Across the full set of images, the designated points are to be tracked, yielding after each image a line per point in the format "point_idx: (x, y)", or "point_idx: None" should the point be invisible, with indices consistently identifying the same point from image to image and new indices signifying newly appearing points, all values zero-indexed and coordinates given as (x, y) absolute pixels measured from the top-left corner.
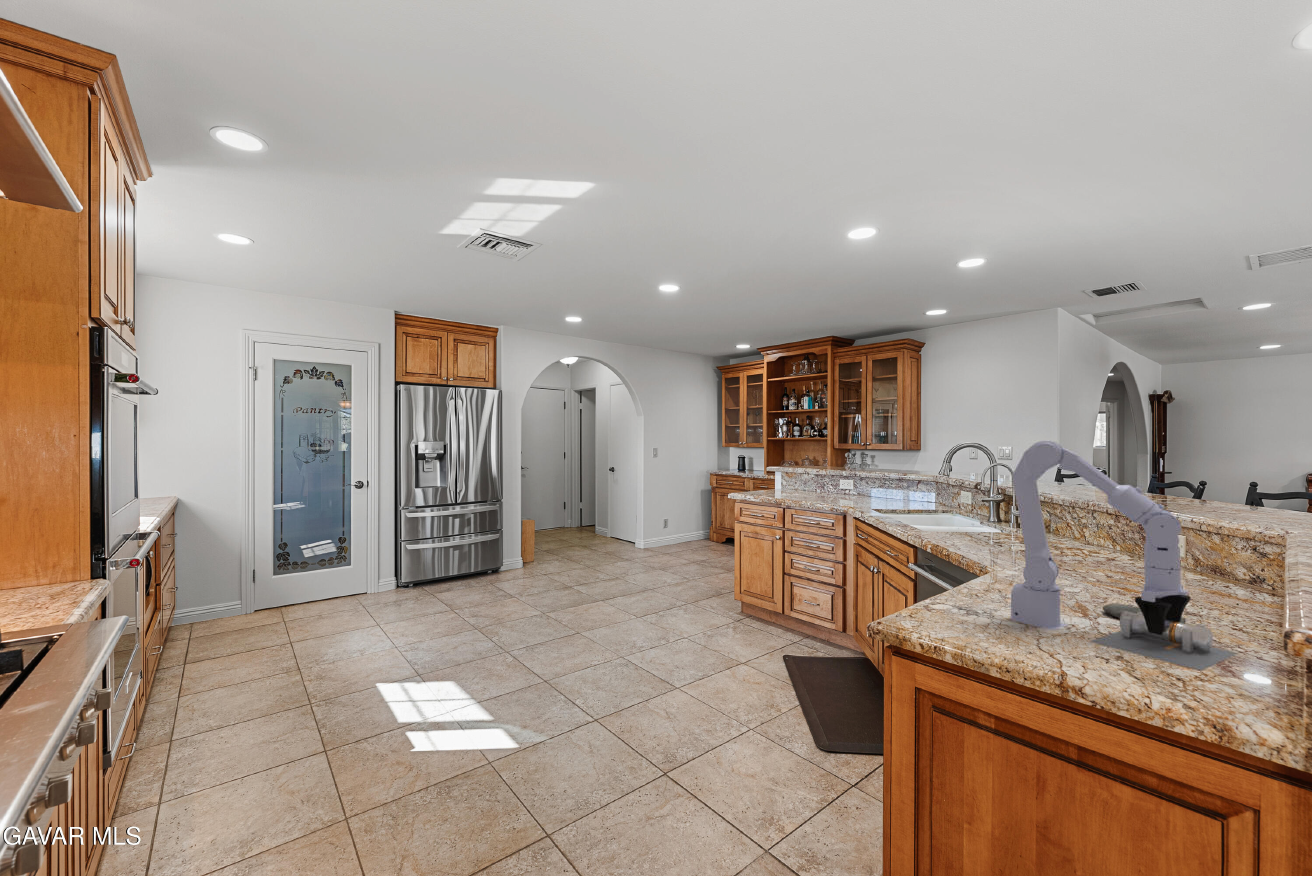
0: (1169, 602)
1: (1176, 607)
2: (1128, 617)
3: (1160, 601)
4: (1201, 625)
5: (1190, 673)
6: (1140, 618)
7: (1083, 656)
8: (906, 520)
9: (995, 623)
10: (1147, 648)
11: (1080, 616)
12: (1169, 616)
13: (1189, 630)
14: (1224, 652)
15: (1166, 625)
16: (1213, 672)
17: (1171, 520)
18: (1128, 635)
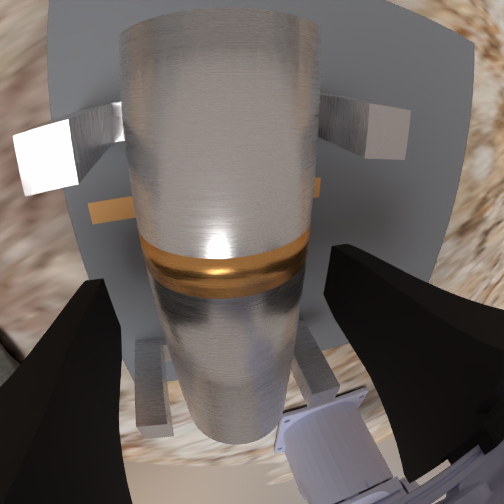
0: (97, 480)
1: (75, 425)
2: (322, 396)
3: (495, 415)
4: (52, 149)
5: (478, 67)
6: (281, 387)
7: (487, 261)
8: None
9: (372, 416)
10: (378, 226)
11: (146, 446)
12: (103, 370)
13: (375, 122)
14: (100, 18)
15: (300, 283)
16: (429, 10)
17: None
18: (305, 326)
